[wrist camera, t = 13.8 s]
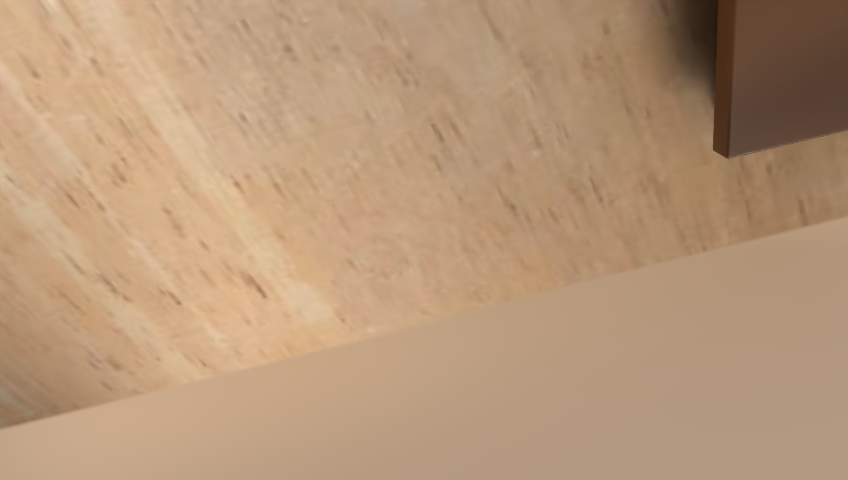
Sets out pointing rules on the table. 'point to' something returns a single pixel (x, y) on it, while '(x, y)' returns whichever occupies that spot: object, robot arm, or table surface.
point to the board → (779, 73)
